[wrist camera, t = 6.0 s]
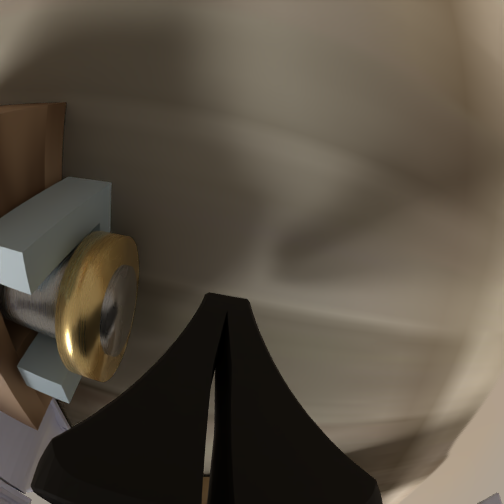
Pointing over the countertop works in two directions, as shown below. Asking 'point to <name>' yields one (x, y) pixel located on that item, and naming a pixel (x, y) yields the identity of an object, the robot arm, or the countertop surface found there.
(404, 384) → the countertop surface
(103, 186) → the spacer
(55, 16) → the countertop surface
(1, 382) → the bearing block
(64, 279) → the shaft
